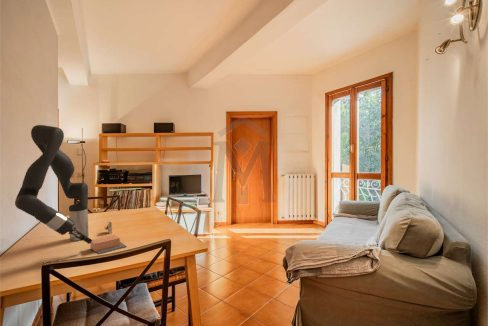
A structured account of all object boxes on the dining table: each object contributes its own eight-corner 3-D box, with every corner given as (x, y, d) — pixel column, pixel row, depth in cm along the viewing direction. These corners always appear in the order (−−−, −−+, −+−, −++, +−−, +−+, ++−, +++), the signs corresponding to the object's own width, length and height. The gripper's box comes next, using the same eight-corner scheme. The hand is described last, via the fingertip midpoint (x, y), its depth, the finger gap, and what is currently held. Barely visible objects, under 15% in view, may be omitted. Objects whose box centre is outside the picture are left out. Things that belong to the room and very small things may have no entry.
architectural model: (105, 235, 153) (105, 223, 152) (104, 232, 158) (103, 221, 158) (112, 234, 155) (111, 222, 155) (110, 231, 160) (109, 220, 160)
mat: (91, 246, 132) (91, 245, 132) (117, 240, 142) (117, 239, 142) (99, 254, 122) (99, 253, 122) (126, 246, 131) (126, 246, 131)
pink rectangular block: (90, 240, 129) (114, 234, 138) (90, 247, 129) (115, 241, 138) (94, 243, 123) (119, 238, 132) (94, 251, 124) (119, 245, 132)
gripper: (69, 218, 114) (99, 238, 123) (64, 214, 123) (92, 232, 132) (55, 232, 110) (87, 251, 119) (51, 227, 120) (81, 245, 129)
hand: (90, 241), depth 126 cm, fingers closed
